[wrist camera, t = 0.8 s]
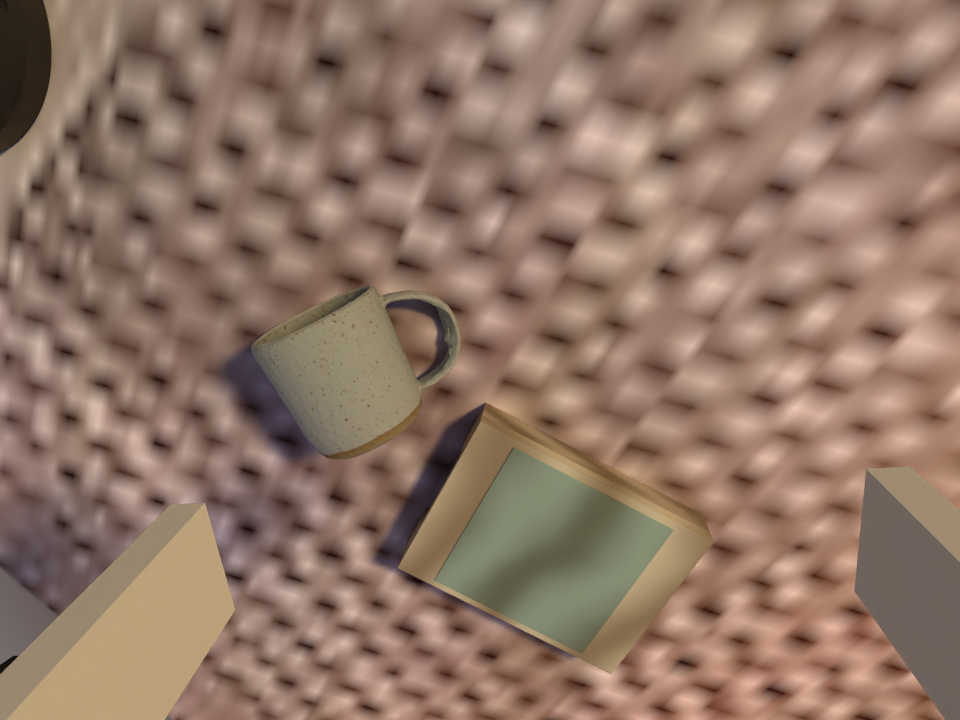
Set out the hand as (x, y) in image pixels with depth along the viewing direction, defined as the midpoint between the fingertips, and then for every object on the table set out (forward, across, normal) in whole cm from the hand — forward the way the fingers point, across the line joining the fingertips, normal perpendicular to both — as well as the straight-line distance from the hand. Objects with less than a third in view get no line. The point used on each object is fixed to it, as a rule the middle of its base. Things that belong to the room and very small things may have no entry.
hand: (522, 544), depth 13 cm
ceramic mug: (+27, -10, -3) cm, 29 cm away
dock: (+26, 0, -17) cm, 31 cm away
